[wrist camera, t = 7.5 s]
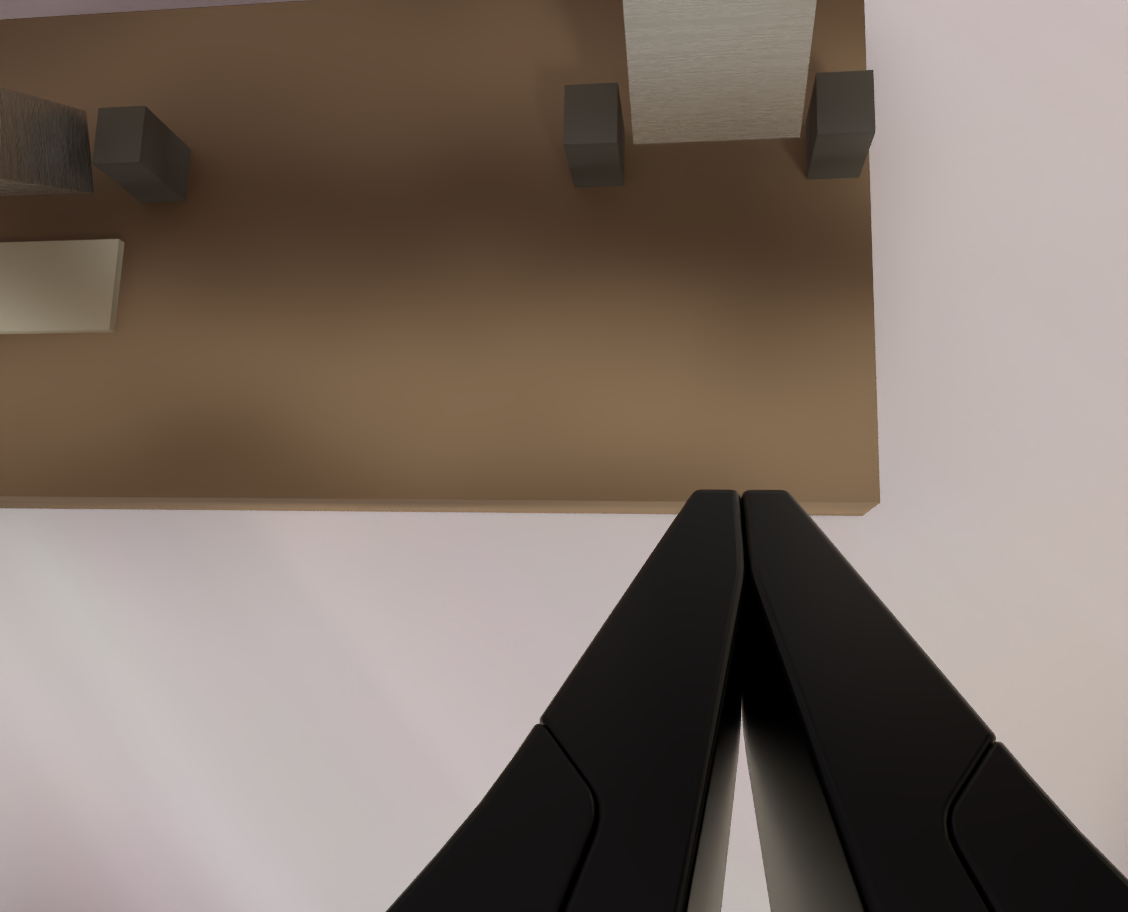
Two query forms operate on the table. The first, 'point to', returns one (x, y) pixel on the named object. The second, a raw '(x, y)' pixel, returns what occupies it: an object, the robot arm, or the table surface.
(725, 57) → the lever
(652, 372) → the switch box
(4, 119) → the lever
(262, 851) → the table surface
